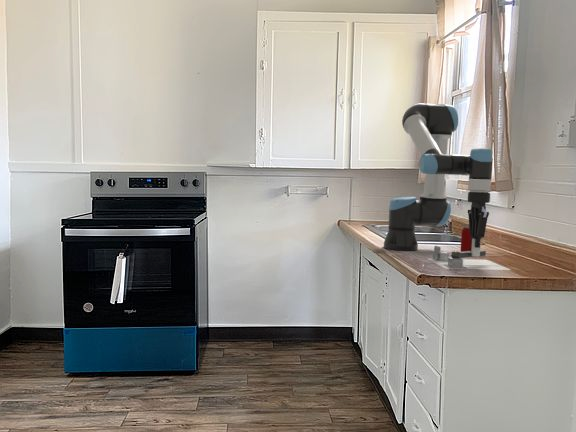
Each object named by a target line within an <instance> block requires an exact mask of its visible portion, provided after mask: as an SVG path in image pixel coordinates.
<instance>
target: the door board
mask: <svg viewBox="0 0 576 432" xmlns="http://www.w3.org/2000/svg"><path fill="white" fill-rule="evenodd" d="M462 259H463V266H465V267H467V268H466V269H465V268H449V267H447V266H445V265H444V264H448V261H436V260H434V259H433V258H428V260H429V261H431V262H433V263H434V264H435V265H438V266H440V267H441V268H443V269H445V270H480V271H481V270H484V271H486V270H488V271H489V270H492V271H499V270H500V271H511V269H510V268H507V267H505V266H503V265H500V264H498V263H495V262H494V261H490V260H488V259H474V258H473V259H471V258H470V259H469V258H468V259H467V258H466V259H465V258H462Z"/></svg>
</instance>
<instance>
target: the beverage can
mask: <svg viewBox="0 0 576 432" xmlns="http://www.w3.org/2000/svg"><path fill="white" fill-rule="evenodd" d="M471 249H472V237H471V236H470V235H469V225H465V226H463V228H462V229H461V237H460V251H459V252H464V251H471Z"/></svg>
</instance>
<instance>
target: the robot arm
mask: <svg viewBox="0 0 576 432" xmlns="http://www.w3.org/2000/svg"><path fill="white" fill-rule="evenodd" d="M401 123H402V124H401V125H402V128H403V130H404V131H405V133H406V134H408V135H409V136H410V139H411V141H412V143H414V145H415V148H416V150H417V152H418V154H419V156H420V157H419V160H418V167H419V172H420V173H422V174H424V183H423V184H424V185H423V193H421V194H420V195H419V199H417V197H416V196H401V197H400V196H399V197H394V198H392V199H390V202H389V206H388V207H389V208H388V211H389V212H388V231H387V234H386V235H385V238H384V242H383V248H384V249H388V250H393V251H403V252H405V251H407V252H408V251H417V250H418V249H419V248H418V246H419V245H418V243H419V242H418V240H417V237H416V233H415V231H416V230H415V228H416V226H417V227H419V226H420V227H421V226H423V227H424V226H425V227H426V226H428V227H440V226H441V227H442V226H445V225H446V224H447V222H448V221H449V219H450V217H451V213H452V212H451V211H452V206H451V203H450V201H449V200H447V199H448V198H447V197H448V196H446V195H445V193H444V192H445V182H446V181H445V179H446V178H445V177H446V175H455V176H467V177H468V187H467V190H468V192H467V202H469V203H471V206H470V209H468V210H467V214H468V226H469V235H470V236H471V237H472V249H471V256H477V257H481V256H480V250H481V244H482V243H481V242H482V239H484V238H485V234H486V228H487V223H488V218H489V215H490V212H489V211H487V207H486V204H489V203H490V202H491V192H490V191H491V187H492V174H493V173H492V171H493V160H494V159H493V150H492V149H491V148H486V147H485V148H476V147H475V148H471V150H470V154H448V142H449V139H451V137H452V136H453V132H455V131H457V129H458V126H459V114H458V111H457V109H456V107H455V106H454V105H452V104H451V105H450V104H445V103H443V104H441V103H440V104H439V103H416V104H413V105H411V106H410V107H409V108H407V109H406V111H405V112H404V113H403V116H402V120H401ZM477 257H476V258H477Z"/></svg>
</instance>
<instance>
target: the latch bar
mask: <svg viewBox="0 0 576 432" xmlns="http://www.w3.org/2000/svg"><path fill="white" fill-rule="evenodd" d="M486 252H487V251H486V250H482V249H480V257H486V256H487V255H486V254H487V253H486ZM450 254H451V255H450V258H461V259H465V258H466V259H467V258H475V257H476V258H477V256H471V251H464V252H460V251H459V250H453V251H451V253H450Z"/></svg>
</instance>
